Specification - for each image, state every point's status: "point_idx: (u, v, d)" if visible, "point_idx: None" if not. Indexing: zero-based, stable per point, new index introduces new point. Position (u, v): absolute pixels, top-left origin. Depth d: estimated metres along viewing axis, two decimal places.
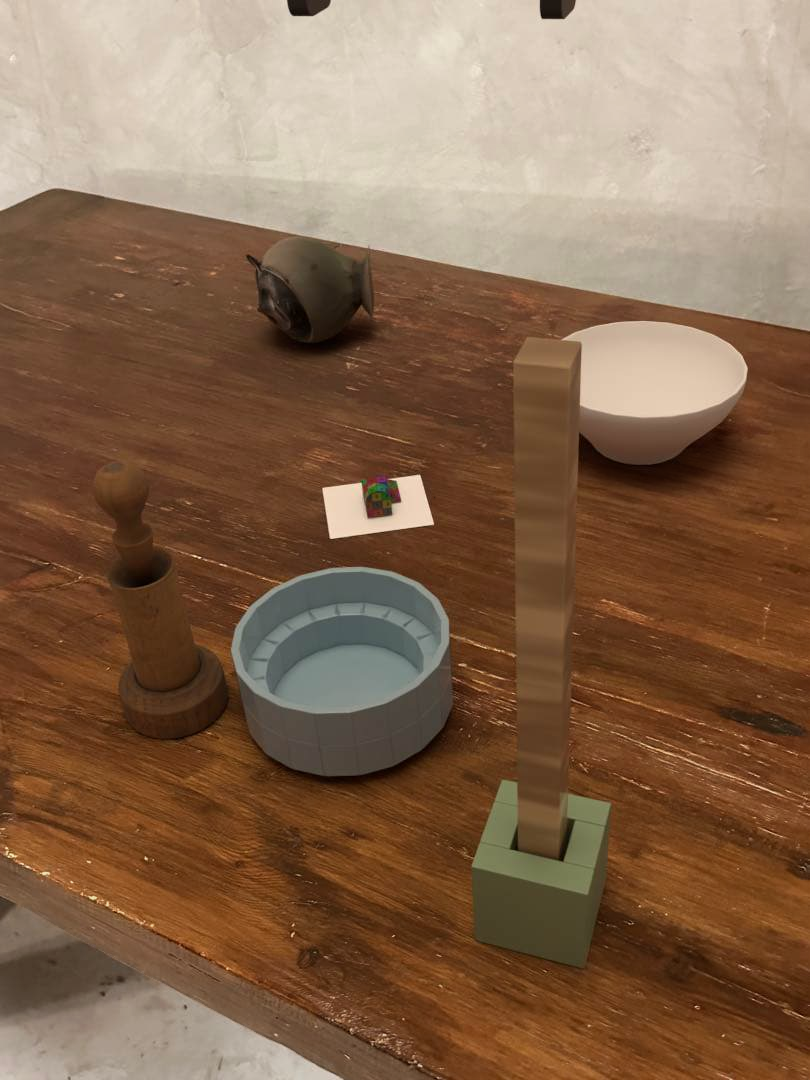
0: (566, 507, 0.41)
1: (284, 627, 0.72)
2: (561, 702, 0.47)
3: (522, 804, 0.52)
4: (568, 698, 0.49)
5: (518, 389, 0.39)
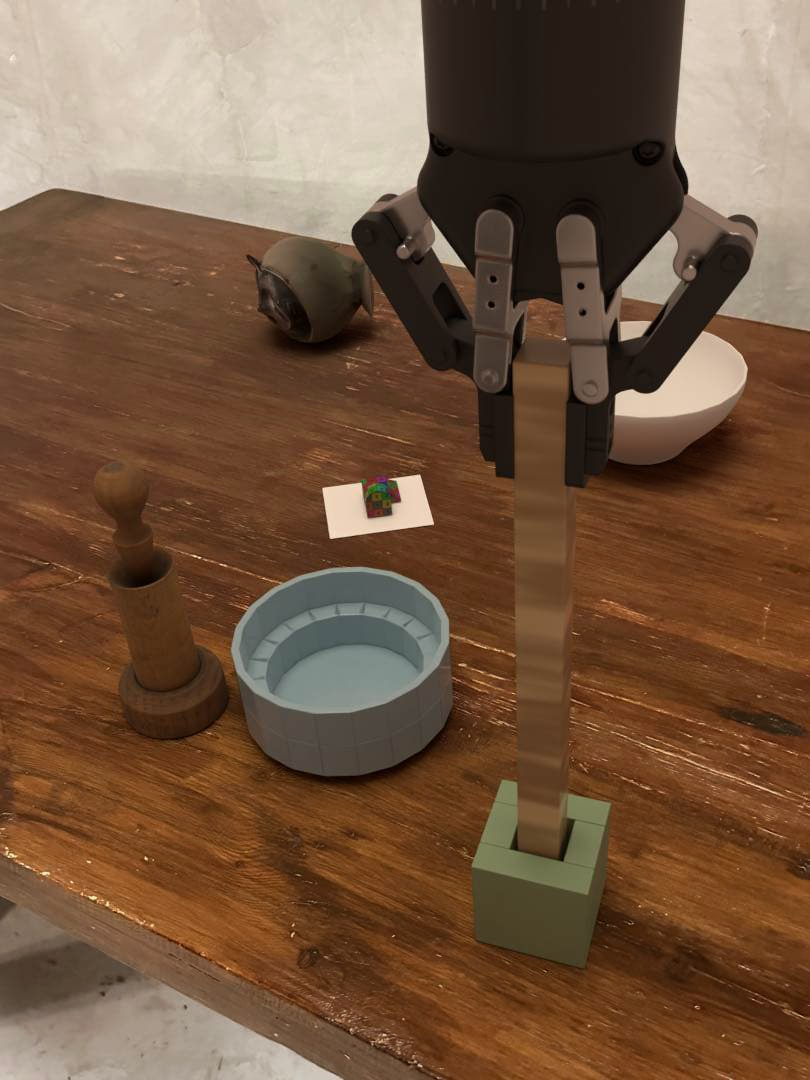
0: (565, 507, 0.41)
1: (284, 627, 0.72)
2: (561, 702, 0.47)
3: (522, 804, 0.52)
4: (568, 698, 0.49)
5: (517, 389, 0.39)
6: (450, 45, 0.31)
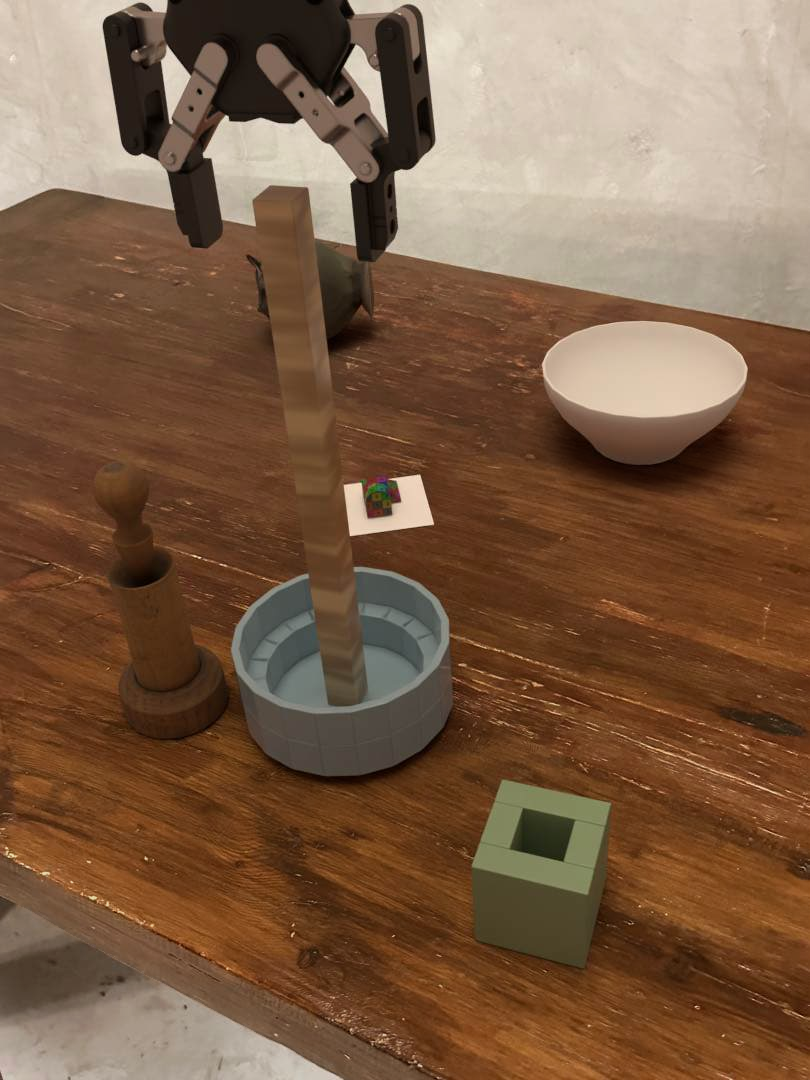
0: (307, 321, 0.54)
1: (284, 627, 0.72)
2: (329, 495, 0.60)
3: (314, 592, 0.64)
4: (340, 497, 0.61)
5: (258, 222, 0.51)
6: None
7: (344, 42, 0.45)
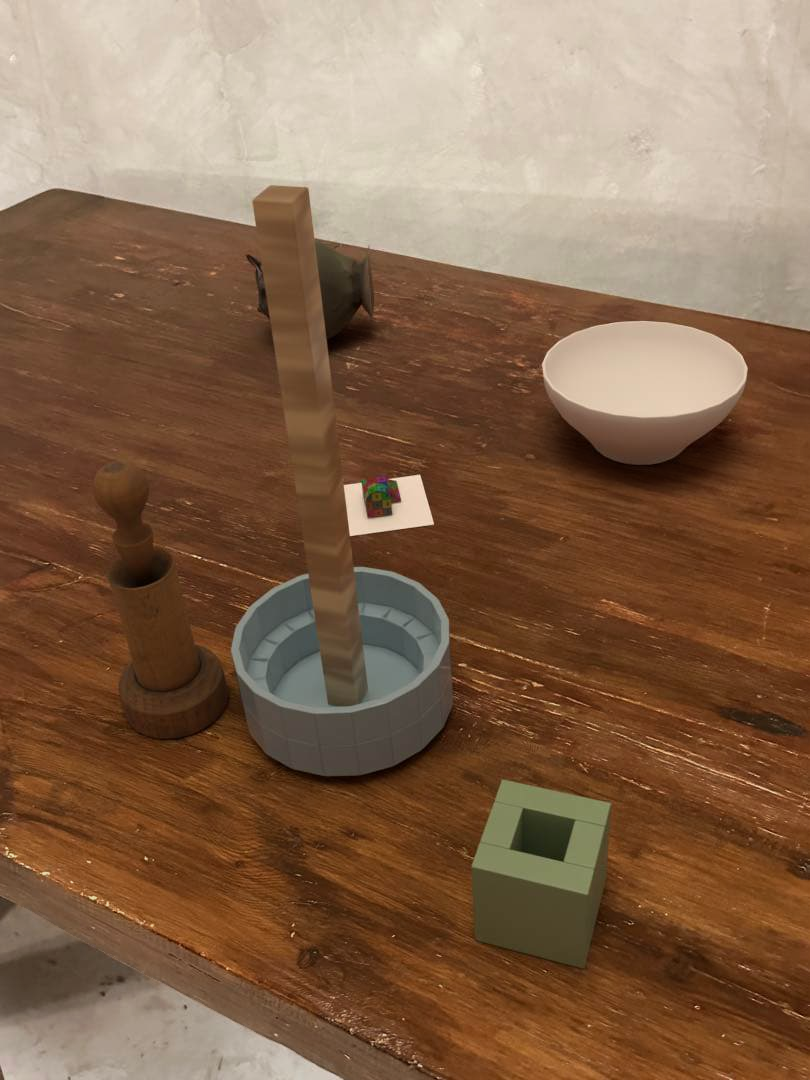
0: (307, 321, 0.54)
1: (284, 627, 0.72)
2: (329, 495, 0.60)
3: (314, 592, 0.64)
4: (340, 497, 0.61)
5: (258, 222, 0.51)
6: None
7: None
